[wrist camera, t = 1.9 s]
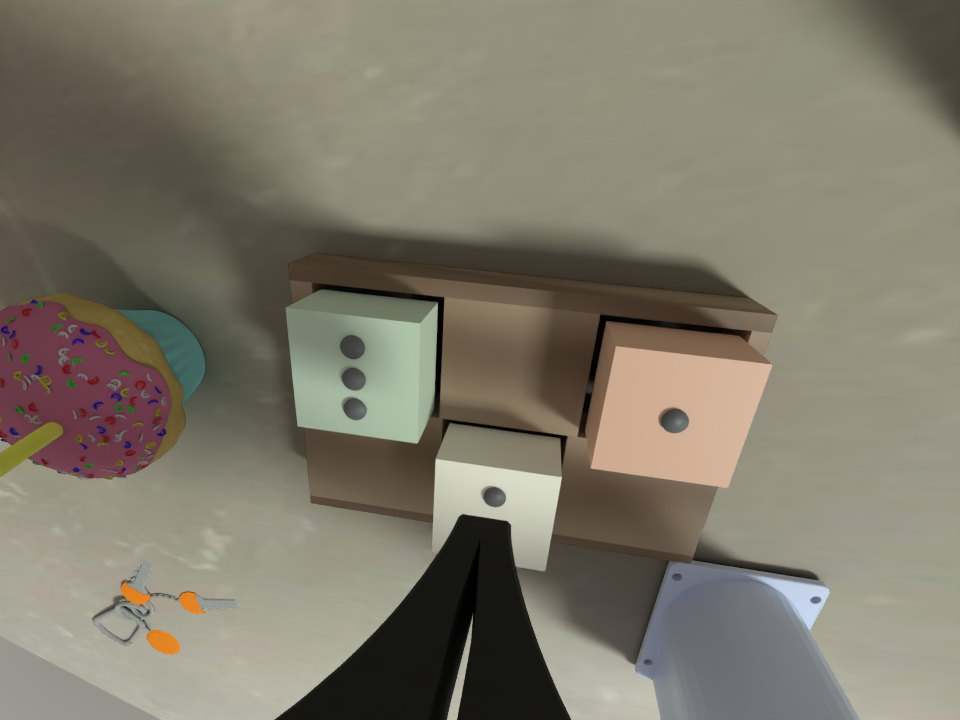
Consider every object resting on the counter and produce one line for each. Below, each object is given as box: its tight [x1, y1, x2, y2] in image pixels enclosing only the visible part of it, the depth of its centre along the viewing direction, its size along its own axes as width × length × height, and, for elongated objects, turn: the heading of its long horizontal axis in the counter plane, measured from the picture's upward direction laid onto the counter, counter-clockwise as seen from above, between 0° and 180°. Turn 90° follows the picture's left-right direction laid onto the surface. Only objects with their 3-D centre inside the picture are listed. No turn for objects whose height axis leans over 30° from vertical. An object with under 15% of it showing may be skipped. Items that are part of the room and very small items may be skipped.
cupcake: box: [0, 293, 205, 480], centre depth 18 cm, size 9×8×12 cm
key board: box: [288, 254, 778, 564], centre depth 21 cm, size 12×19×2 cm, turn 86°
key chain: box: [93, 561, 239, 654], centre depth 33 cm, size 13×7×1 cm, turn 132°
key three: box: [286, 289, 438, 444], centre depth 18 cm, size 5×5×3 cm
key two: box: [432, 423, 562, 572], centre depth 20 cm, size 5×5×3 cm
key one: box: [585, 321, 773, 488], centre depth 17 cm, size 5×5×3 cm
